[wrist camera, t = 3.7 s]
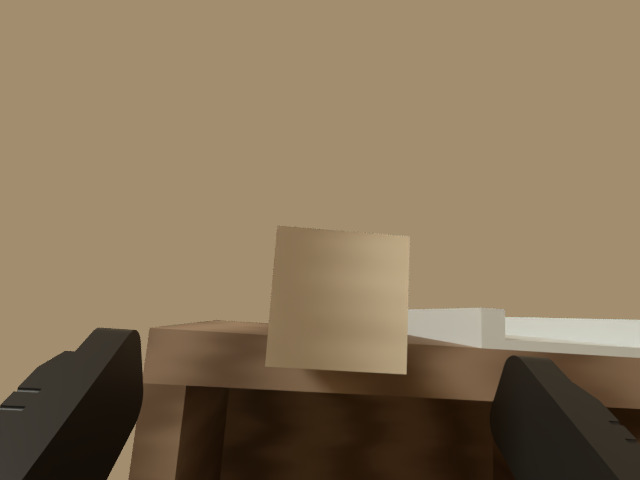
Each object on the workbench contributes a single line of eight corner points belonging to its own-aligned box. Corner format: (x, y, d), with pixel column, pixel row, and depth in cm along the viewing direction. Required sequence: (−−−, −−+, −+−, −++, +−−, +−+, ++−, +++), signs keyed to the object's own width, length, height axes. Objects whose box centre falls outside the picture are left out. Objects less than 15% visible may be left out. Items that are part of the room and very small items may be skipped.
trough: (481, 348, 16) (481, 308, 16) (388, 331, 31) (388, 310, 31) (689, 361, 17) (686, 321, 17) (500, 338, 31) (500, 317, 32)
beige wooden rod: (265, 366, 7) (277, 225, 7) (281, 323, 32) (283, 293, 33) (406, 374, 7) (409, 236, 7) (311, 325, 32) (313, 295, 33)
